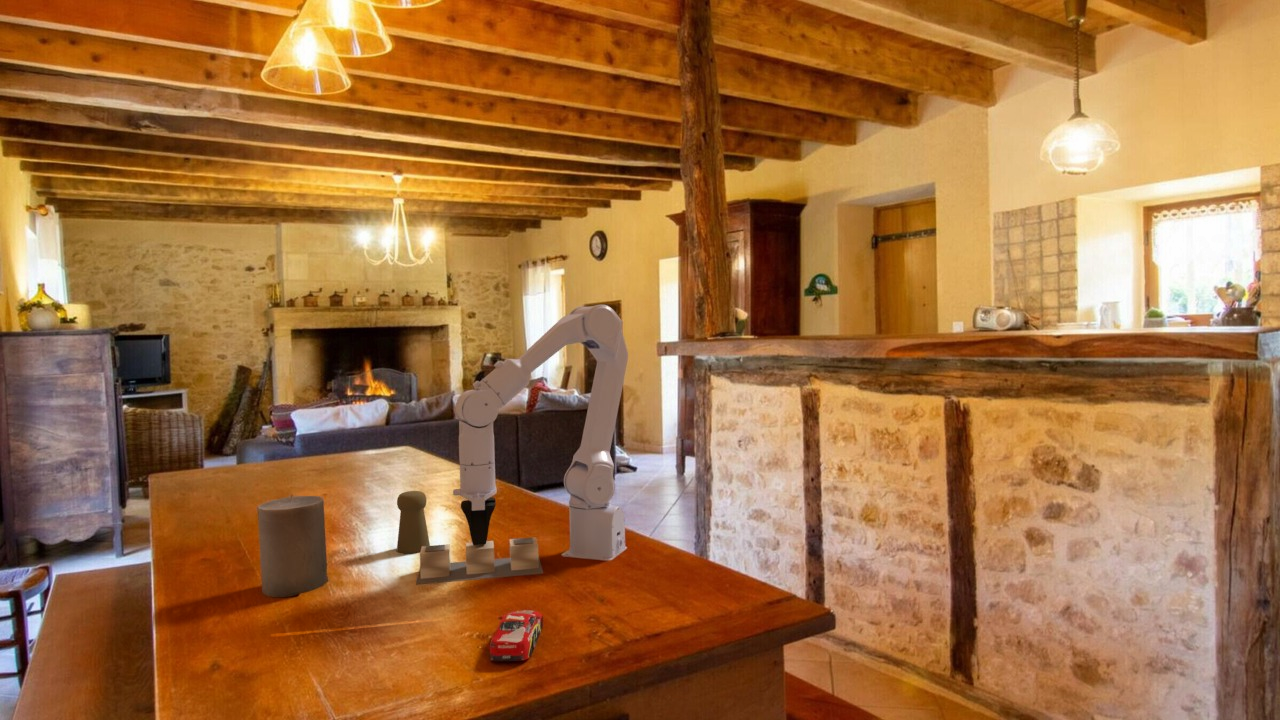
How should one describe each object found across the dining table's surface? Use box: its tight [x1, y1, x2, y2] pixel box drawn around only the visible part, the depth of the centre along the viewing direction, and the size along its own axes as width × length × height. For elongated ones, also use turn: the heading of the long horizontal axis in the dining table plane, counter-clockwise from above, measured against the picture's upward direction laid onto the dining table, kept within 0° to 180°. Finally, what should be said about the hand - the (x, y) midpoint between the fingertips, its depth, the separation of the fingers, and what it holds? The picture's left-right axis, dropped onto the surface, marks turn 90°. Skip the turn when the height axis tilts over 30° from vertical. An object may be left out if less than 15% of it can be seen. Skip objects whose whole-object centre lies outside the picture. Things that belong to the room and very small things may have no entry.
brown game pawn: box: [396, 490, 431, 555], centre depth 139 cm, size 6×6×11 cm
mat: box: [415, 554, 544, 586], centre depth 126 cm, size 20×10×1 cm, turn 102°
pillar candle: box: [257, 493, 329, 598], centre depth 120 cm, size 10×10×15 cm
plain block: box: [465, 540, 495, 574], centre depth 126 cm, size 4×4×4 cm
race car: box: [489, 609, 544, 662], centre depth 97 cm, size 13×5×4 cm, turn 177°
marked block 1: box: [419, 544, 451, 579], centre depth 125 cm, size 4×4×4 cm
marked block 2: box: [509, 536, 539, 570], centre depth 128 cm, size 4×4×4 cm
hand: (479, 543), depth 126 cm, fingers closed
